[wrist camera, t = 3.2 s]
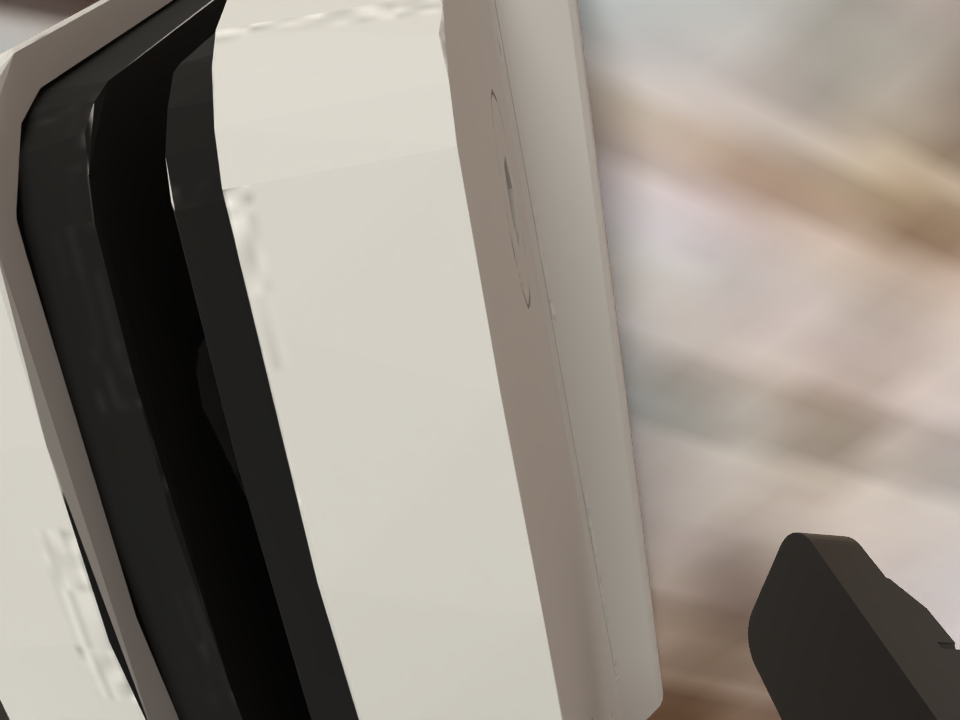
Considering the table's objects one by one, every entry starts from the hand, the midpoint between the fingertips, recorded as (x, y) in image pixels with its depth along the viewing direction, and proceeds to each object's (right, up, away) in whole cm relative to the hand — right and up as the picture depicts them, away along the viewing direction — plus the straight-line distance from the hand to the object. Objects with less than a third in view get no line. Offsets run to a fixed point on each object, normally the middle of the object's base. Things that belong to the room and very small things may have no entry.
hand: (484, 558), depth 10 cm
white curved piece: (0, +2, +5) cm, 5 cm away
